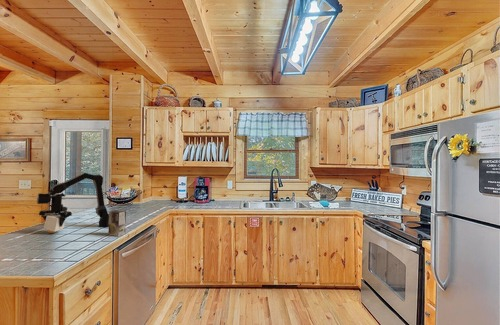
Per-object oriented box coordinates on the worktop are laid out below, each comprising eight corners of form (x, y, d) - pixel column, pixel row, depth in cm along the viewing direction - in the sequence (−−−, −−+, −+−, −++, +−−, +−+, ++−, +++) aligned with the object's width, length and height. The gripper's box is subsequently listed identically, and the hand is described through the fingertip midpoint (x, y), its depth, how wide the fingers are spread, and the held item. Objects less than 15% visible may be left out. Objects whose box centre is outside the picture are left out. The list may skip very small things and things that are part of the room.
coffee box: (125, 234, 182) (126, 211, 182) (118, 236, 176) (119, 212, 176) (115, 232, 185) (116, 209, 185) (107, 234, 179) (108, 211, 179)
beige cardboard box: (63, 228, 182) (66, 216, 182) (54, 231, 174) (57, 218, 174) (52, 225, 182) (55, 213, 182) (43, 228, 175) (46, 215, 175)
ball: (55, 233, 181) (59, 227, 181) (49, 235, 176) (54, 229, 176) (49, 228, 181) (54, 223, 181) (44, 230, 176) (48, 225, 176)
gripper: (77, 202, 187) (76, 224, 186) (52, 200, 187) (50, 222, 187) (66, 204, 175) (64, 228, 175) (39, 202, 176) (37, 226, 176)
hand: (54, 226), depth 178 cm, fingers closed on beige cardboard box, 8 cm apart
